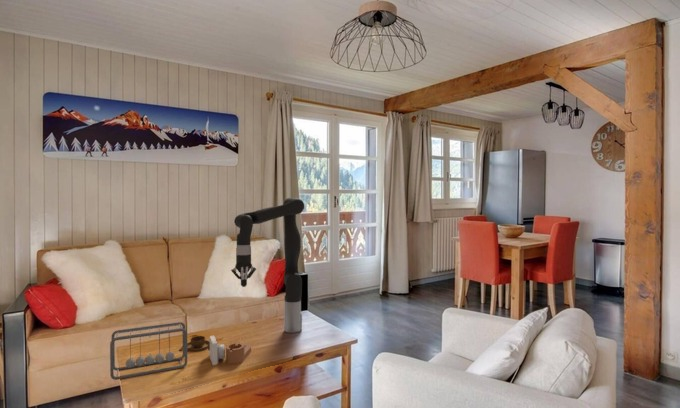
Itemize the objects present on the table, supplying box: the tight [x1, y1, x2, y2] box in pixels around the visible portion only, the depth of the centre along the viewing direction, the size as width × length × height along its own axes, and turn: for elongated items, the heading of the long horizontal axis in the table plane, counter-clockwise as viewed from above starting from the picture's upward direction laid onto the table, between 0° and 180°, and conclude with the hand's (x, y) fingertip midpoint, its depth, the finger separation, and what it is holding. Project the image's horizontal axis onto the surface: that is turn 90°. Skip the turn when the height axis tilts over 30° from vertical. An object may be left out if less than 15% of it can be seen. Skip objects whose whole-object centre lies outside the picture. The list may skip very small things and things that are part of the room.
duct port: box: [209, 335, 226, 366], centre depth 186 cm, size 6×10×10 cm, turn 26°
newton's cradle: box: [109, 321, 188, 381], centre depth 175 cm, size 30×10×18 cm, turn 117°
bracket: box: [225, 342, 252, 365], centre depth 190 cm, size 18×8×7 cm, turn 174°
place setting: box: [179, 335, 210, 355], centre depth 197 cm, size 18×20×6 cm
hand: (243, 286), depth 205 cm, fingers closed
